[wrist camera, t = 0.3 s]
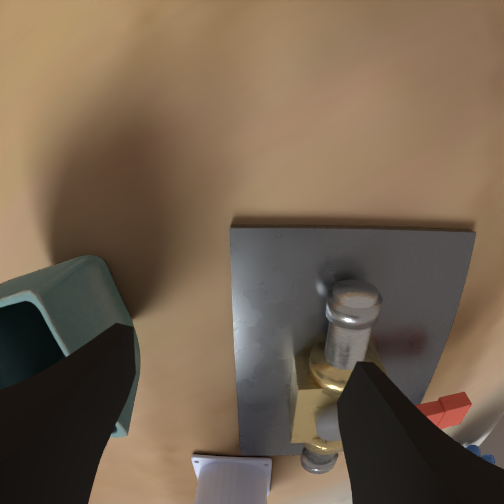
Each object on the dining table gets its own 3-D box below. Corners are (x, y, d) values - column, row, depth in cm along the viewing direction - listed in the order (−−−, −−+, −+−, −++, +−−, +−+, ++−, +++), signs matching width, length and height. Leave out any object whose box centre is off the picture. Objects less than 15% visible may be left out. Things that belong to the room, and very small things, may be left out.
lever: (312, 431, 19) (315, 452, 18) (318, 403, 18) (322, 425, 16) (449, 410, 19) (457, 427, 17) (464, 382, 18) (474, 399, 16)
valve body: (398, 438, 26) (409, 470, 22) (241, 450, 26) (238, 487, 22) (471, 229, 18) (509, 254, 14) (230, 225, 18) (221, 254, 14)
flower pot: (119, 220, 18) (32, 289, 10) (169, 338, 21) (131, 440, 13) (27, 254, 19) (-53, 314, 11) (77, 350, 22) (26, 429, 14)
